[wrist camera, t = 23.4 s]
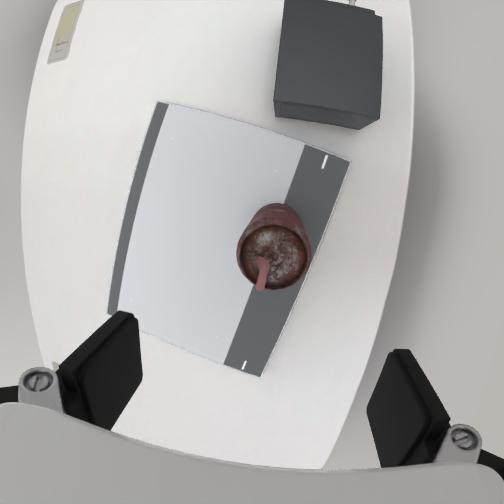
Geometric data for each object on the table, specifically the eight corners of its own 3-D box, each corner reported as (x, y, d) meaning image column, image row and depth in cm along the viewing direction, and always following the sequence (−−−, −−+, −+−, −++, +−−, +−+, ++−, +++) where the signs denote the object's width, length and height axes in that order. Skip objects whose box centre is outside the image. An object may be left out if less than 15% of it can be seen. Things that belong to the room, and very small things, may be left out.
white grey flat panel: (157, 100, 34) (154, 99, 33) (349, 161, 34) (351, 161, 33) (107, 312, 43) (103, 315, 42) (261, 373, 43) (260, 378, 42)
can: (246, 247, 38) (227, 288, 25) (257, 197, 36) (242, 211, 23) (294, 258, 38) (300, 304, 24) (306, 208, 36) (321, 229, 23)
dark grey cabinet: (284, 30, 31) (284, -2, 23) (364, 44, 30) (382, 16, 22) (275, 116, 34) (273, 100, 26) (359, 130, 33) (379, 118, 25)
